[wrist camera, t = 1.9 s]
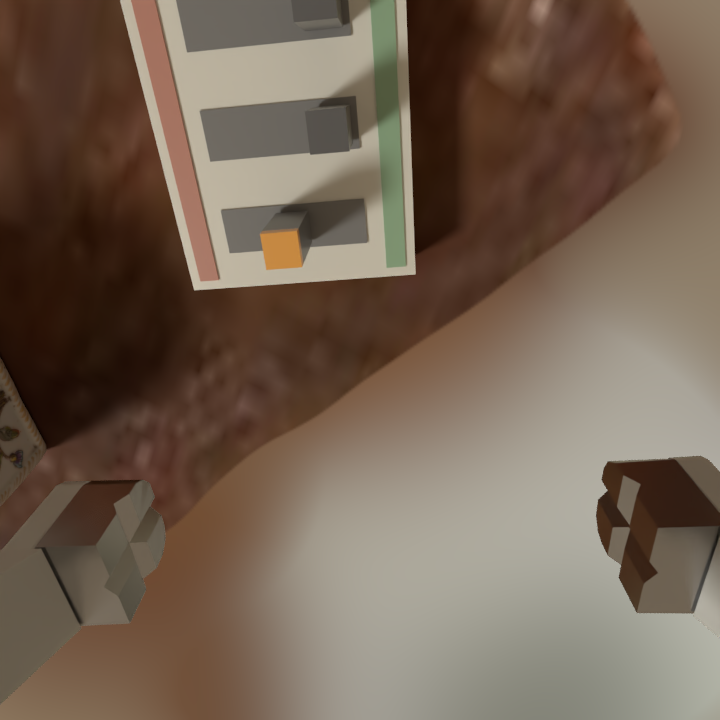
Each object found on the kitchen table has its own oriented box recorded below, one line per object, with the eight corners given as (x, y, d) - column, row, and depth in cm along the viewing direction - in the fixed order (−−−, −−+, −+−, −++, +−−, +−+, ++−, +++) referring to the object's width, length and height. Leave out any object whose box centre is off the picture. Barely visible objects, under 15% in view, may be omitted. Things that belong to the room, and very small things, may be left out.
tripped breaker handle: (275, 212, 25) (259, 234, 22) (307, 210, 25) (296, 231, 22) (280, 244, 26) (266, 269, 22) (312, 242, 26) (302, 267, 22)
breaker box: (135, -44, 23) (51, -88, 17) (399, -75, 22) (408, -133, 16) (209, 272, 30) (169, 318, 24) (412, 257, 29) (421, 301, 23)
